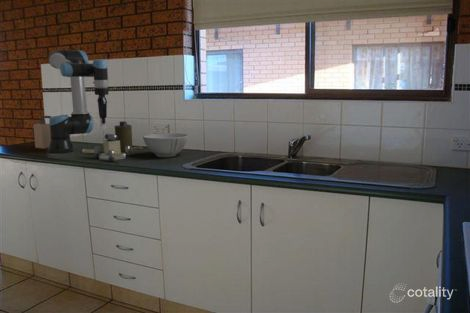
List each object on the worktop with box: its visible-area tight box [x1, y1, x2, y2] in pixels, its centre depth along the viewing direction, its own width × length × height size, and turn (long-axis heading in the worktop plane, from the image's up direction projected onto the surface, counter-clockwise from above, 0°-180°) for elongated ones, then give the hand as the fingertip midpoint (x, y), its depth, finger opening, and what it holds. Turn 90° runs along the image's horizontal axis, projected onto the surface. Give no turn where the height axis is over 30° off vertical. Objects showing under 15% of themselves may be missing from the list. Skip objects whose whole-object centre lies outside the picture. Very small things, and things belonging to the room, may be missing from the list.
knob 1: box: [108, 150, 127, 162], centre depth 236 cm, size 12×3×6 cm, turn 61°
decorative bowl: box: [142, 132, 189, 158], centre depth 255 cm, size 27×27×12 cm
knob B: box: [81, 146, 101, 159], centre depth 251 cm, size 12×3×6 cm, turn 73°
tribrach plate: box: [98, 133, 127, 162], centre depth 247 cm, size 15×15×14 cm
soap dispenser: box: [32, 115, 52, 149], centre depth 293 cm, size 13×9×22 cm
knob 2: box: [125, 145, 144, 157], centre depth 257 cm, size 12×3×6 cm, turn 133°
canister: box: [114, 120, 134, 155], centre depth 262 cm, size 11×10×20 cm
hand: (103, 129), depth 244 cm, fingers closed
